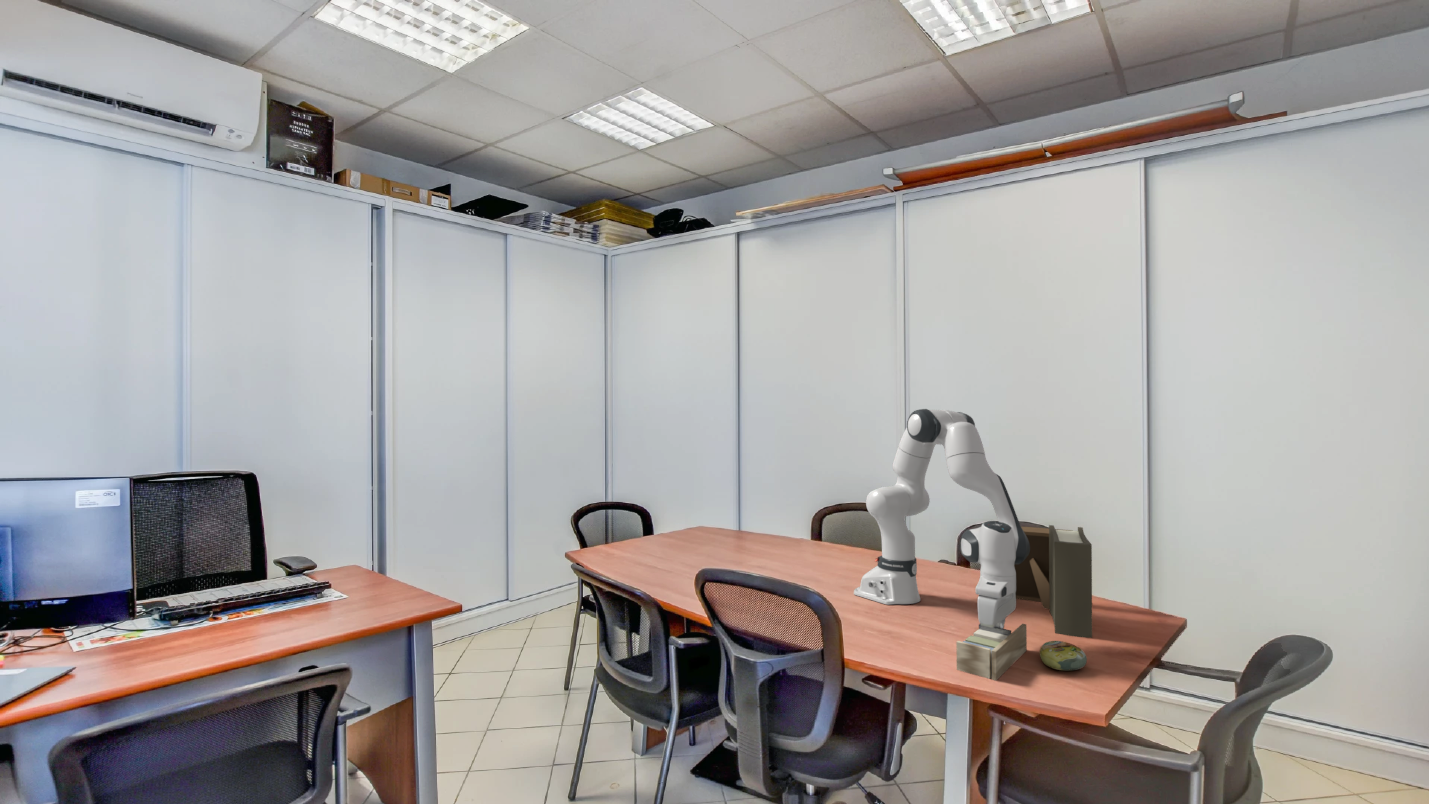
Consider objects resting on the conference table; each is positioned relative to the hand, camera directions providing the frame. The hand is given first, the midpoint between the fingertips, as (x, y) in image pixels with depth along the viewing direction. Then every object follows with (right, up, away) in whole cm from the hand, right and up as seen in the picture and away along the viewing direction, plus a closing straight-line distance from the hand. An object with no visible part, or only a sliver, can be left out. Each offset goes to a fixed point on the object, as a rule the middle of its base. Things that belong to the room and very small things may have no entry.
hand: (998, 634), depth 168 cm
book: (+31, -5, +21) cm, 38 cm away
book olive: (-7, -5, -8) cm, 12 cm away
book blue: (-11, -5, -12) cm, 17 cm away
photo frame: (+31, -5, +40) cm, 51 cm away
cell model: (+12, -5, -8) cm, 16 cm away
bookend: (0, -5, +1) cm, 5 cm away
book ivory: (-3, -5, -3) cm, 7 cm away
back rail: (-5, -5, -5) cm, 8 cm away
